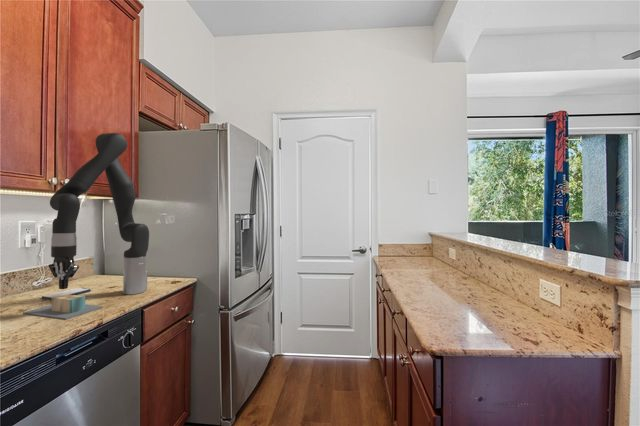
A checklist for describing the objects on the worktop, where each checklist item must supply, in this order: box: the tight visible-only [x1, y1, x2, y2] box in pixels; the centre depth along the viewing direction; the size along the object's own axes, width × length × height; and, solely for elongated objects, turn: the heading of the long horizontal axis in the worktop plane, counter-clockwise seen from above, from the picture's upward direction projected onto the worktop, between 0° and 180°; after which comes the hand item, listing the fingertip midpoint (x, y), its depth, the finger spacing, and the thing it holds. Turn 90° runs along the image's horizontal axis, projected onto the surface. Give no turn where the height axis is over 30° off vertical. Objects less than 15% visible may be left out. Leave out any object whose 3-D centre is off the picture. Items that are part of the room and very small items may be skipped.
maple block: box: [51, 294, 86, 313], centre depth 115 cm, size 5×5×10 cm
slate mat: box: [22, 303, 104, 320], centre depth 115 cm, size 14×21×1 cm, turn 77°
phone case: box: [41, 286, 91, 301], centre depth 136 cm, size 9×2×16 cm
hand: (63, 288), depth 115 cm, fingers closed
